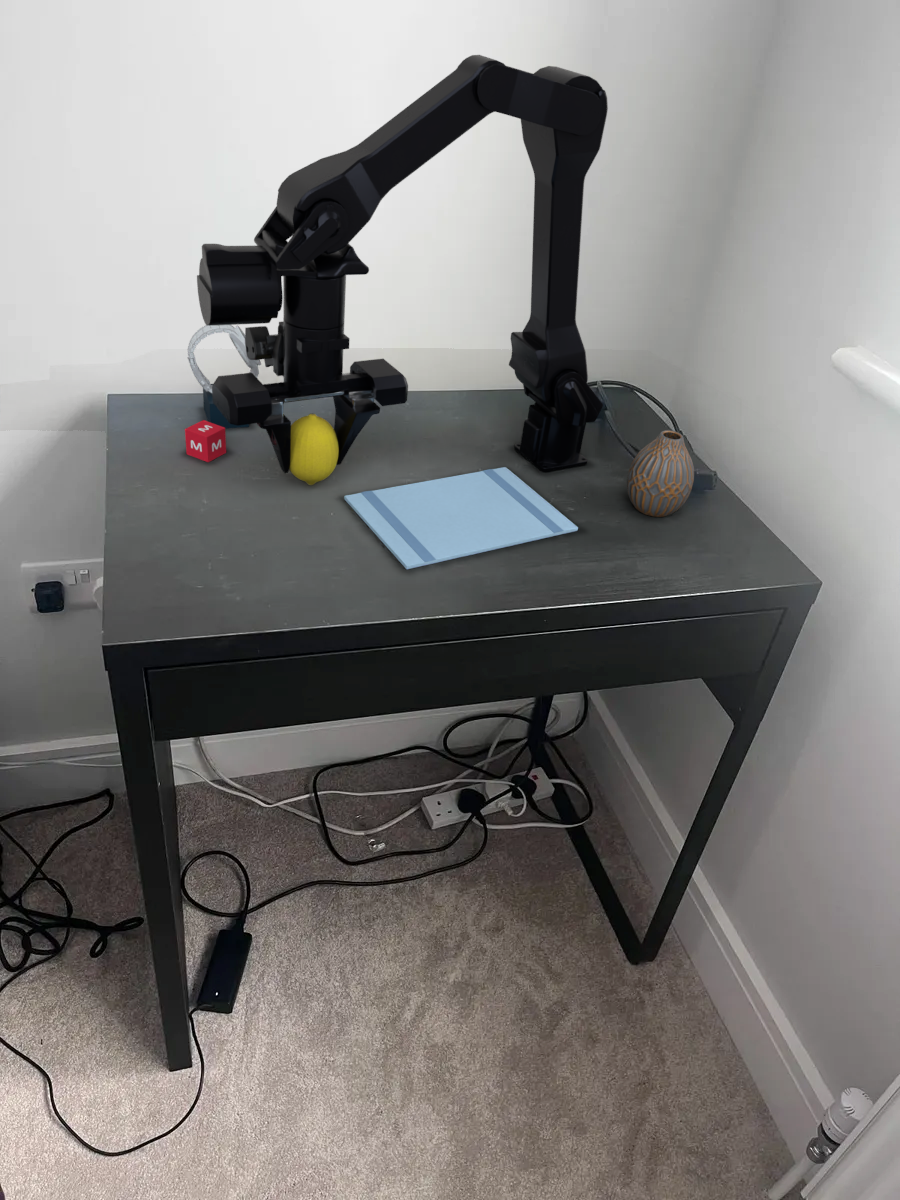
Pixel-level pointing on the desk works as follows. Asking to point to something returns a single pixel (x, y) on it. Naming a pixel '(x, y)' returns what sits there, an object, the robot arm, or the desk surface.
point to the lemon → (313, 449)
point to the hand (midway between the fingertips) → (311, 467)
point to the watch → (209, 406)
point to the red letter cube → (205, 441)
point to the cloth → (457, 516)
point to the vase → (661, 475)
